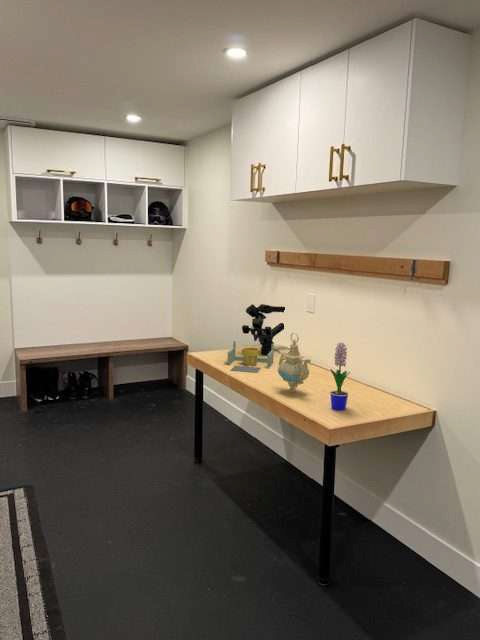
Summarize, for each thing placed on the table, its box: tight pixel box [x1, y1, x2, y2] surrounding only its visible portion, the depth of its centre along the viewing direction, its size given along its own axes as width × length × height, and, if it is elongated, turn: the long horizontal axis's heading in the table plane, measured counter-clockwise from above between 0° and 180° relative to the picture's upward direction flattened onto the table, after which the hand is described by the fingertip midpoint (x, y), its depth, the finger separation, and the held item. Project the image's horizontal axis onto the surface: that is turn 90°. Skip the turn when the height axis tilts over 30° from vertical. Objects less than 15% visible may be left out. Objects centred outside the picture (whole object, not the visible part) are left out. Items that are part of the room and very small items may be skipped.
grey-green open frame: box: [227, 340, 275, 369], centre depth 302 cm, size 15×25×12 cm, turn 77°
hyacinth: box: [329, 342, 351, 411], centre depth 220 cm, size 9×10×30 cm
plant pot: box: [241, 346, 260, 367], centre depth 301 cm, size 10×10×10 cm
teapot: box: [277, 332, 312, 393], centre depth 244 cm, size 24×12×30 cm, turn 32°
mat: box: [230, 365, 262, 374], centre depth 289 cm, size 12×16×1 cm
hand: (254, 340), depth 312 cm, fingers closed
